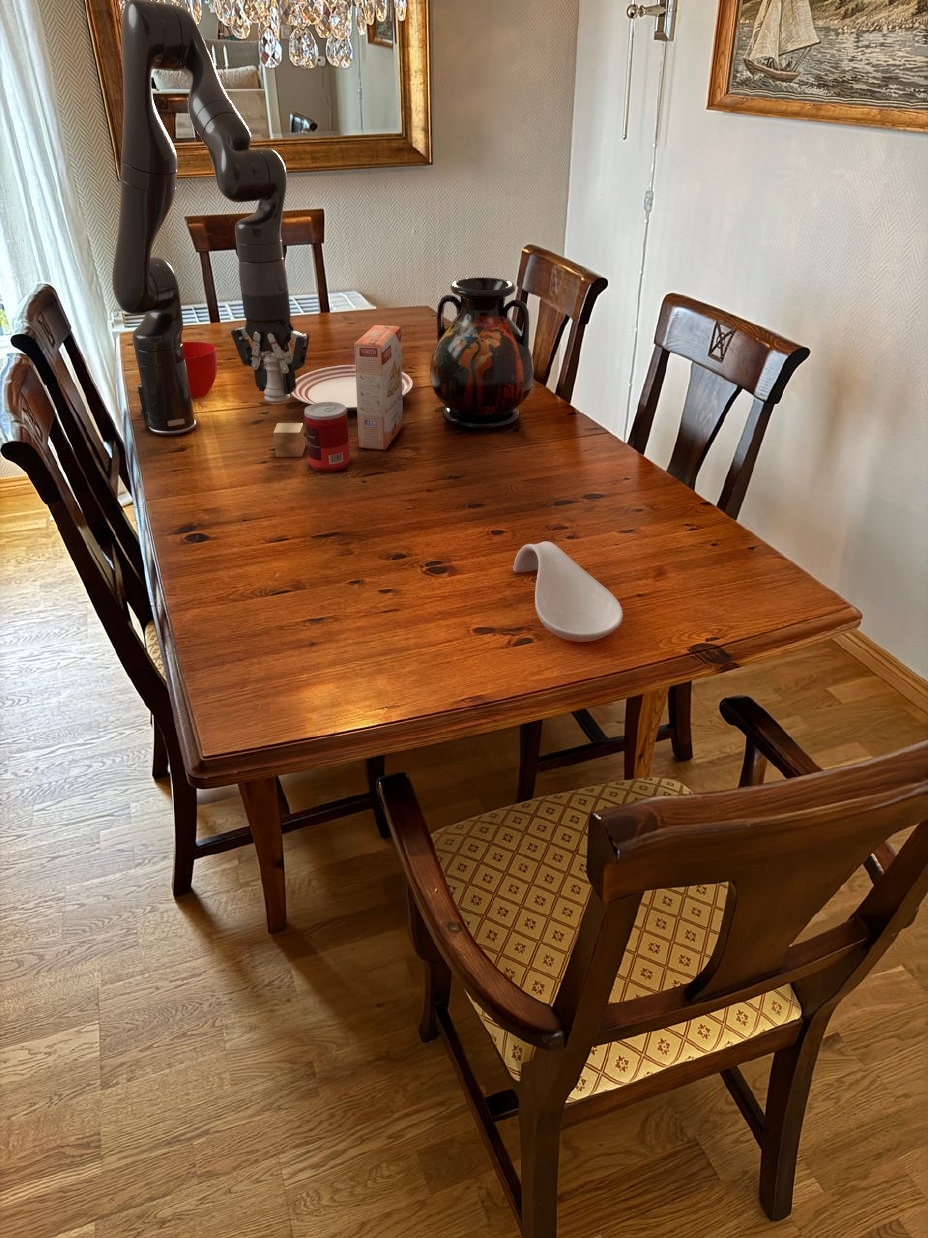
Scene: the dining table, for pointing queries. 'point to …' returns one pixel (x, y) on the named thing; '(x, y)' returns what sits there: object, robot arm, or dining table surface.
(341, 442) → the canned food
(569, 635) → the spoon rest
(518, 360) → the amphora vase
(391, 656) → the dining table surface
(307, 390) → the dinner plate
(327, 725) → the dining table surface
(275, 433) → the maple block
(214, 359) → the ceramic cup
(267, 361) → the rook chess piece
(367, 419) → the cracker box
